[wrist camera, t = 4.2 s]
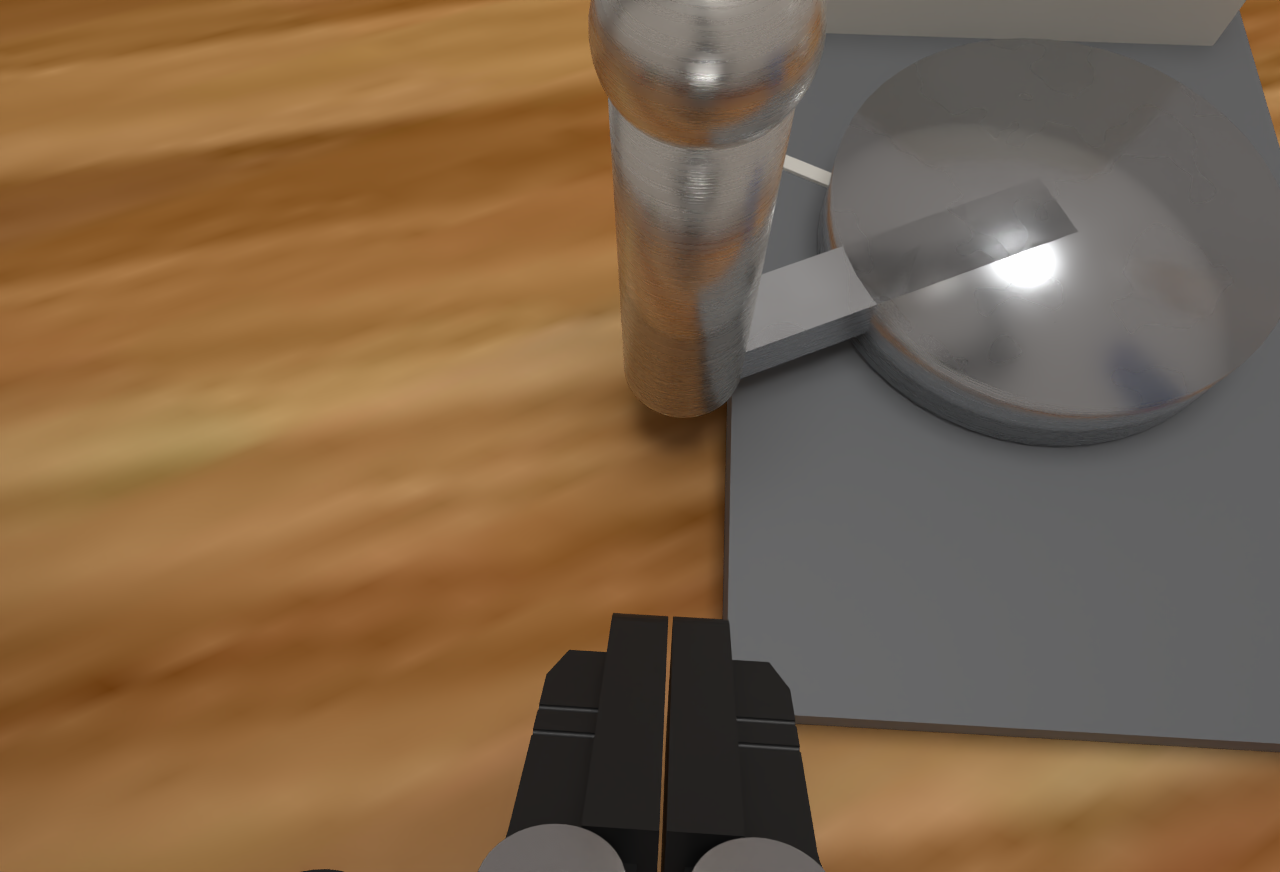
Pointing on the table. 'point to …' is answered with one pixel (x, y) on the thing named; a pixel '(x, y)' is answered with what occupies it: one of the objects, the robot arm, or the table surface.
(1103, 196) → the crank handle
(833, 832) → the table surface
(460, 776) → the table surface
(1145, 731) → the stand
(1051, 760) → the table surface
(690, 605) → the table surface
